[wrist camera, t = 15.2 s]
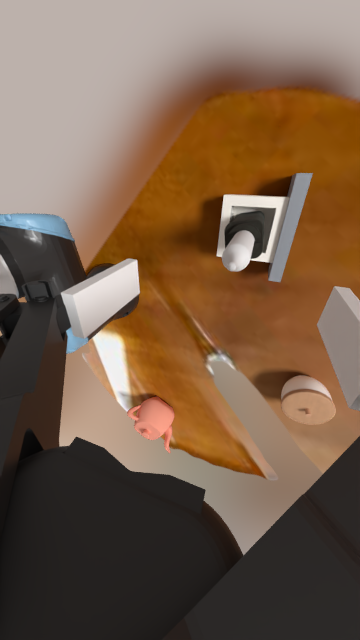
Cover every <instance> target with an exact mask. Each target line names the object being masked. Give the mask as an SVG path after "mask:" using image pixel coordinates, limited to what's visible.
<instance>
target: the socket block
mask: <svg viewBox="0 0 360 640" xmlns="http://www.w3.org/2000/svg"><path fill="white" fill-rule="evenodd" d="M289 199H290V197H284V196H259V195H233V194H227V195H224V198H223V206H222V215H221V223H220V232H219V240H218V248H217V256H219V257H222V254H223V251H224V250H225V235H224V231H225V227H226V226H227V225H228V224H229V223H230V222H231V221H232V220H233V219H234V218H235V217H236V216H237V215H238V214H240V213H246V212H253V211H261V212H263V213H264V216H265V219H264V240H263V251H262V254H261V255H260V256H259V257H257V258H254V259H250V260H253V261H261V262H270V263H273V259H274V256H275V252H276V248H277V244H278V240H279V237H280V233H281V229H282V225H283V221H284V218H285V214H286V210H287V206H288V202H289Z"/></svg>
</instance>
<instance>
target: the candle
mask: <svg viewBox="0 0 360 640" xmlns="http://www.w3.org/2000/svg"><path fill="white" fill-rule="evenodd" d="M264 219H265V216H264V213H263V212H261V211H253V212H246V213H240V214H238V215H237V216H236V217H235V218H234V219H233V220H232V221H231V222H230V223H229V224H228V225H227V226H226V227H225V231H224V235H225V250H224V251H223V254H222V262H223V264H224V266H225V267H226V268H227V269H228V270H229V271H240V270H243V269H244V268H245V267H246V266H247V265H248V264H249V262H250V259H254V258H257V257H259V256H260V255H261V254H262V251H263V240H264Z"/></svg>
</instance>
